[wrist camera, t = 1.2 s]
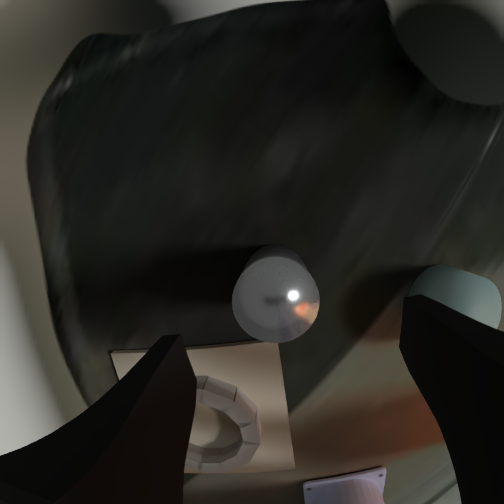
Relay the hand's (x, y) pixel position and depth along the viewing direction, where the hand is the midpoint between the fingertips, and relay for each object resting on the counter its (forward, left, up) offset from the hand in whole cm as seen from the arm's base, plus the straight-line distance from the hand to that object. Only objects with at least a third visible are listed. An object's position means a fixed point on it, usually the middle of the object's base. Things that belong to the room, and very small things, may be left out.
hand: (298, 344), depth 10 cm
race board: (-11, +8, -12) cm, 18 cm away
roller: (-4, -11, -12) cm, 17 cm away
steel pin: (0, +1, -12) cm, 12 cm away
